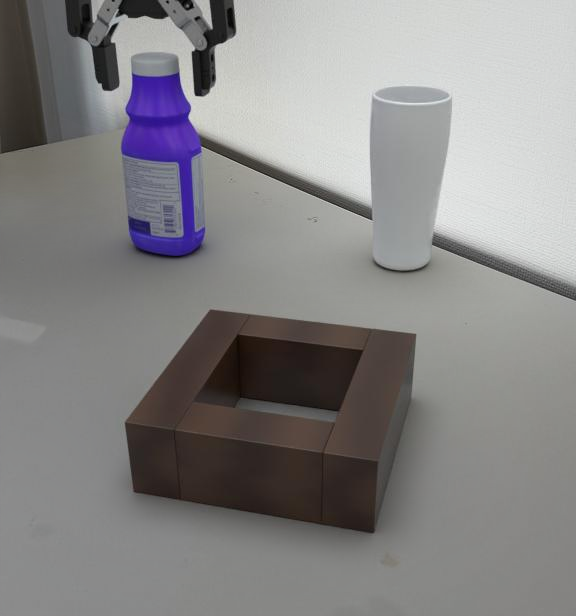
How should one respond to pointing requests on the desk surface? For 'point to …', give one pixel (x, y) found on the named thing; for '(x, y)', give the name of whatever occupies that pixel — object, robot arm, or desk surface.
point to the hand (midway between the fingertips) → (156, 91)
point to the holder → (276, 418)
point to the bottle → (162, 160)
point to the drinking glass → (407, 171)
